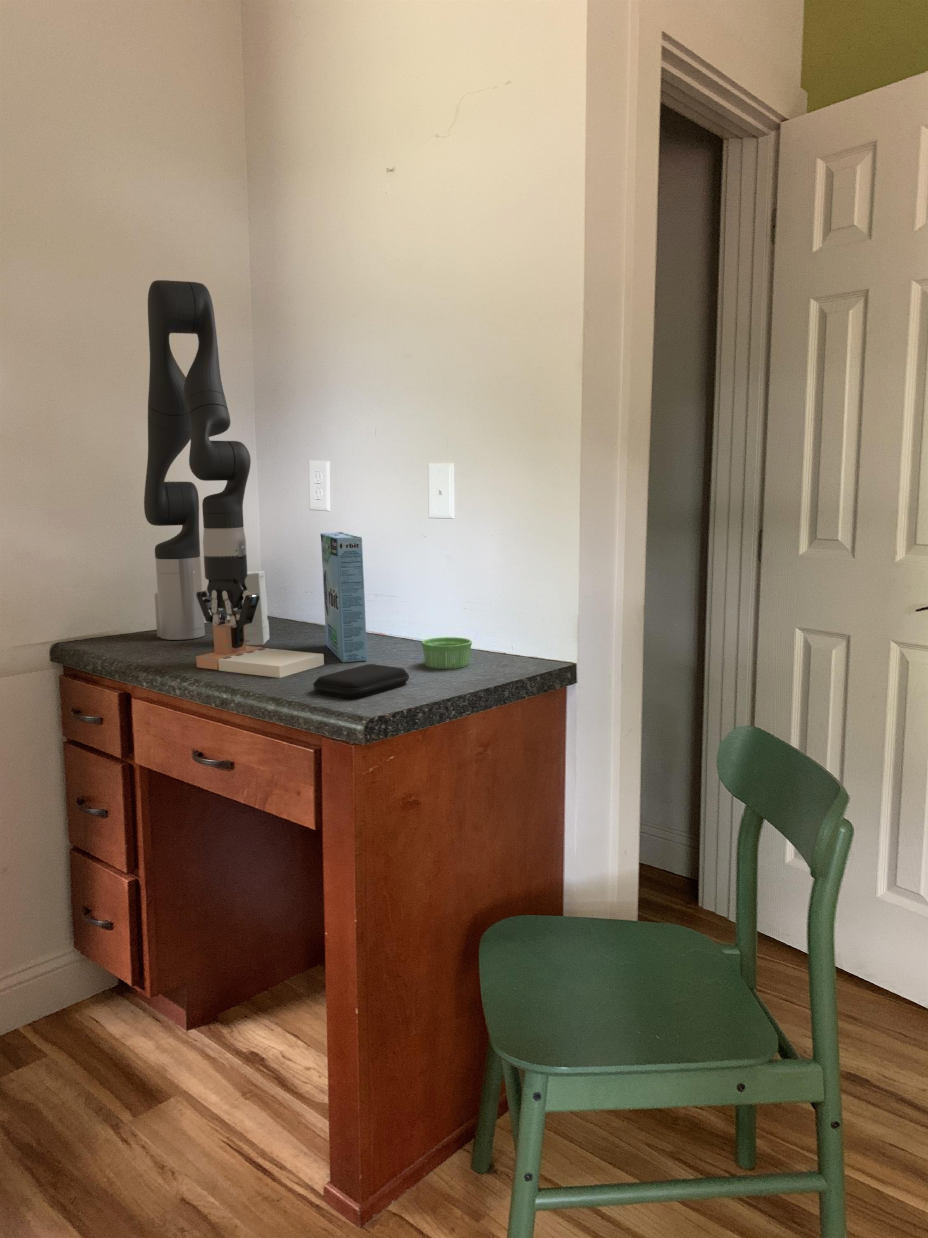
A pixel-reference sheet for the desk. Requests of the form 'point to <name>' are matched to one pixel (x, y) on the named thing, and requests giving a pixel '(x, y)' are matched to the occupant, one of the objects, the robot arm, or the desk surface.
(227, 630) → the stub
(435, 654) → the ramekin
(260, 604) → the skincare box
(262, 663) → the plate
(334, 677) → the carrying case or bag
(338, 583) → the gum box
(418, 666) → the desk surface
